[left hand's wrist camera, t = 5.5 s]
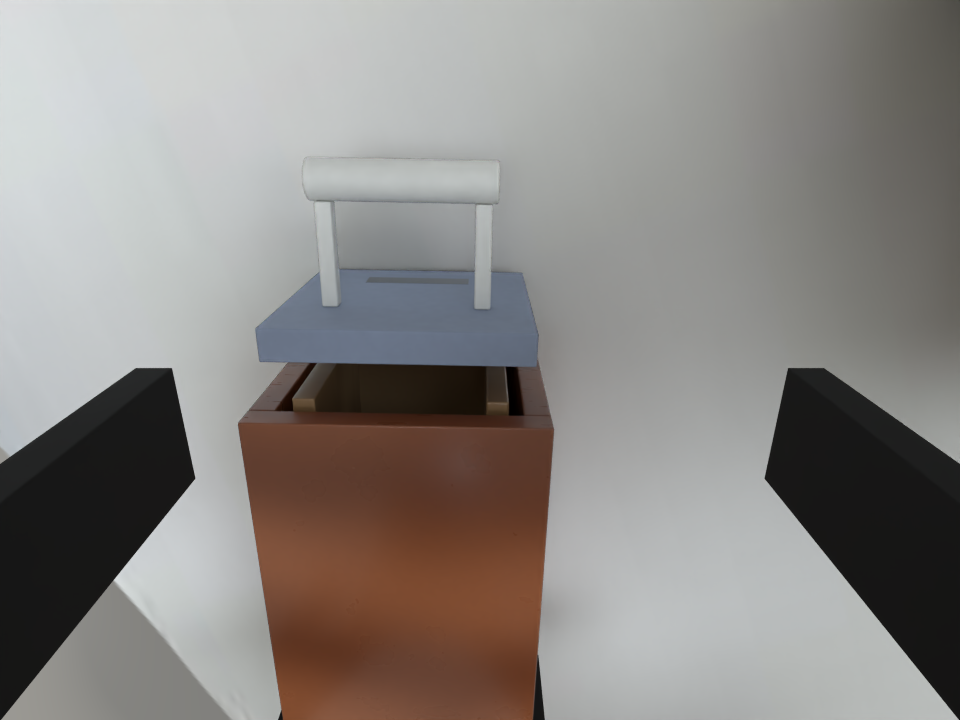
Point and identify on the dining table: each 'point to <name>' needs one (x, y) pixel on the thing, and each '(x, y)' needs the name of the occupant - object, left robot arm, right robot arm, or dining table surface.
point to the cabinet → (401, 554)
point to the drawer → (403, 304)
